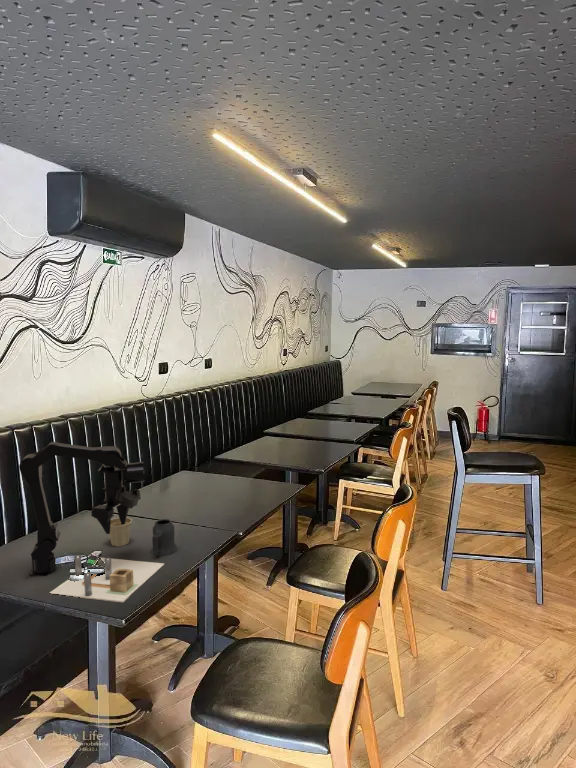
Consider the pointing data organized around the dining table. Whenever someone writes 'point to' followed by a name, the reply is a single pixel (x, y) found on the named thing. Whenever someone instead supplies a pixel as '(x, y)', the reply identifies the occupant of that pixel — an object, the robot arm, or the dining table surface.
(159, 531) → the dark grey holder
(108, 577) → the wire and posts
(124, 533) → the flower pot
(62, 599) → the dining table surface
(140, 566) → the course mat
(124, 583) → the oak open box
